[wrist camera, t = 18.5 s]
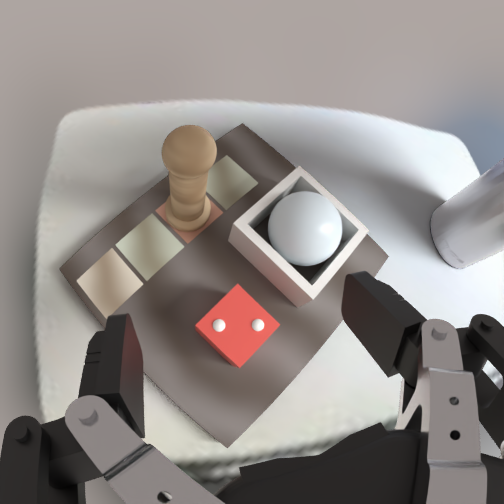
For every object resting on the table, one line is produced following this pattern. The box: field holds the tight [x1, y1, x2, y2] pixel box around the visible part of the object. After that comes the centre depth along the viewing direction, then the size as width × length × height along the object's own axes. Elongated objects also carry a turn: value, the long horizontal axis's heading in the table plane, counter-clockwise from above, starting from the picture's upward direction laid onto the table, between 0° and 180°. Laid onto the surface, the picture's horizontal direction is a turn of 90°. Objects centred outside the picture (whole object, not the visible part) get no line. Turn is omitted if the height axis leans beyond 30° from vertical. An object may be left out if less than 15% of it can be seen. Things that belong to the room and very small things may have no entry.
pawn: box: [162, 125, 217, 232], centre depth 24 cm, size 4×4×11 cm
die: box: [195, 284, 280, 368], centre depth 24 cm, size 4×4×4 cm
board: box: [60, 123, 389, 448], centre depth 29 cm, size 25×22×2 cm
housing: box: [228, 166, 369, 308], centre depth 28 cm, size 9×9×4 cm
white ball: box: [268, 191, 342, 266], centre depth 27 cm, size 6×6×6 cm
